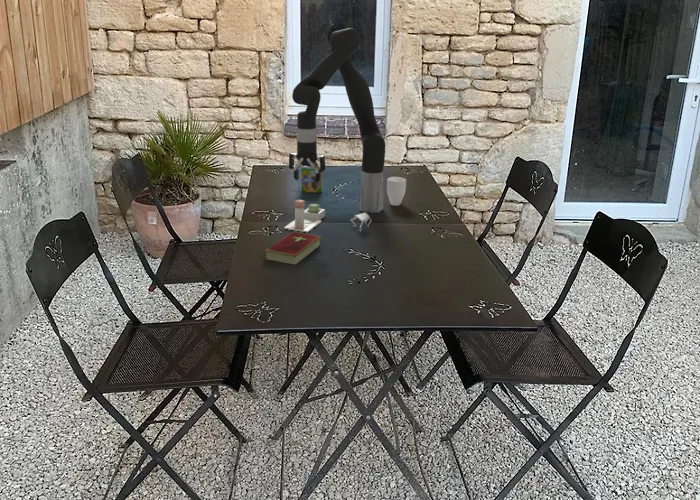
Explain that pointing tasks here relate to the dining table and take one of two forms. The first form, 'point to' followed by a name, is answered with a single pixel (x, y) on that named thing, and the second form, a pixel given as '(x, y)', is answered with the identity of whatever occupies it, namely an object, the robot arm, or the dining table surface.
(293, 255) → the hardcover book
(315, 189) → the chalk box
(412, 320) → the dining table surface
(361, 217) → the origami figure
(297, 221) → the marker
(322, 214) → the button housing
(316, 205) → the button
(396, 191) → the mug
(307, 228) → the colouring board
